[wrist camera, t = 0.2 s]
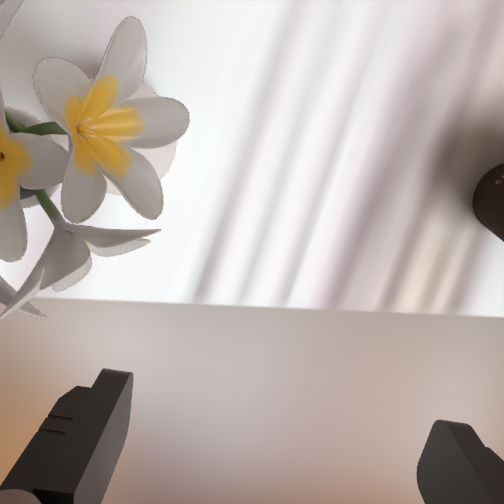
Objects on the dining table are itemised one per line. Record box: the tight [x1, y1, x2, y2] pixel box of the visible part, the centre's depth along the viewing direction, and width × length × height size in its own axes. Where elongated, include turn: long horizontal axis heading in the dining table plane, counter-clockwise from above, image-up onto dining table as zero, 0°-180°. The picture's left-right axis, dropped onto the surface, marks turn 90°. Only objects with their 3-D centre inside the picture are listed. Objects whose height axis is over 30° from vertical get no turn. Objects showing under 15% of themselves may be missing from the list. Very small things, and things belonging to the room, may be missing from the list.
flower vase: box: [0, 0, 190, 320], centre depth 25 cm, size 13×18×25 cm
